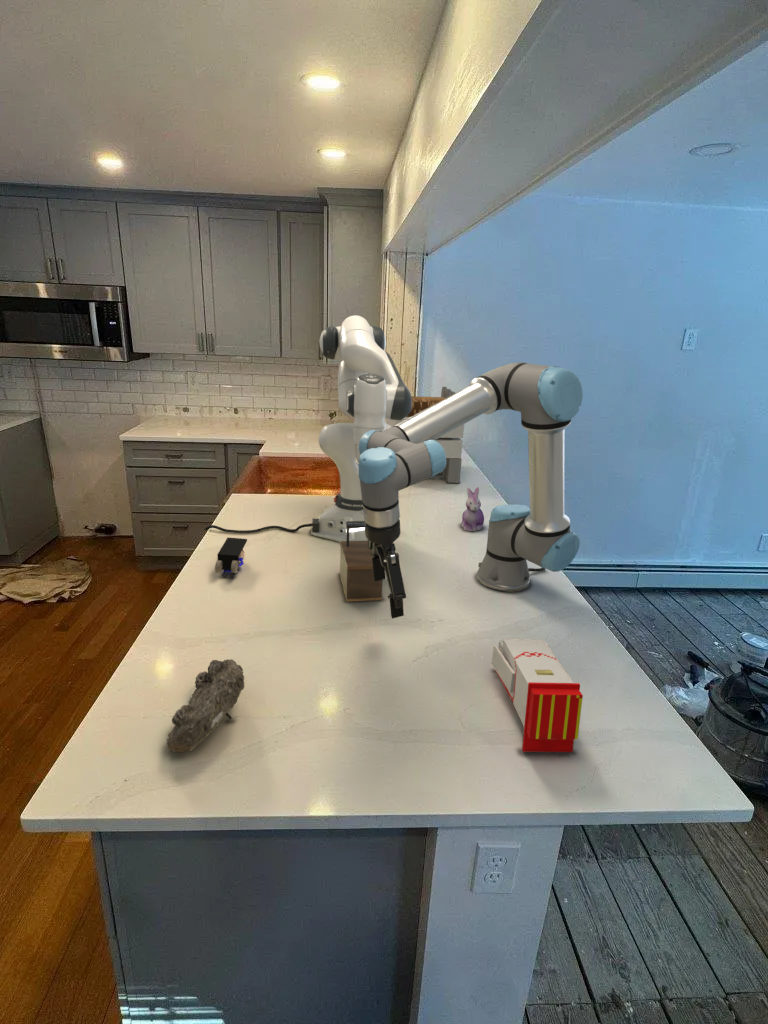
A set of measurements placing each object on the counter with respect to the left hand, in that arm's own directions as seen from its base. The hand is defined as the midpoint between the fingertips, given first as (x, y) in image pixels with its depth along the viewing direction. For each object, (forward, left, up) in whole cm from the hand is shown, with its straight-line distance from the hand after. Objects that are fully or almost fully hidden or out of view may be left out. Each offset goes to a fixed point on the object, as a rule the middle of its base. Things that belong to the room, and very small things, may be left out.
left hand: (367, 485), depth 158 cm
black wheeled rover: (-38, -10, -28) cm, 48 cm away
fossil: (-9, -68, -28) cm, 74 cm away
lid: (+1, -7, -19) cm, 20 cm away
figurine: (+25, +52, -28) cm, 64 cm away
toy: (+49, -44, -28) cm, 72 cm away
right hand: (+16, -32, -16) cm, 39 cm away
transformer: (-9, +116, -28) cm, 119 cm away
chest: (+1, -7, -28) cm, 29 cm away
